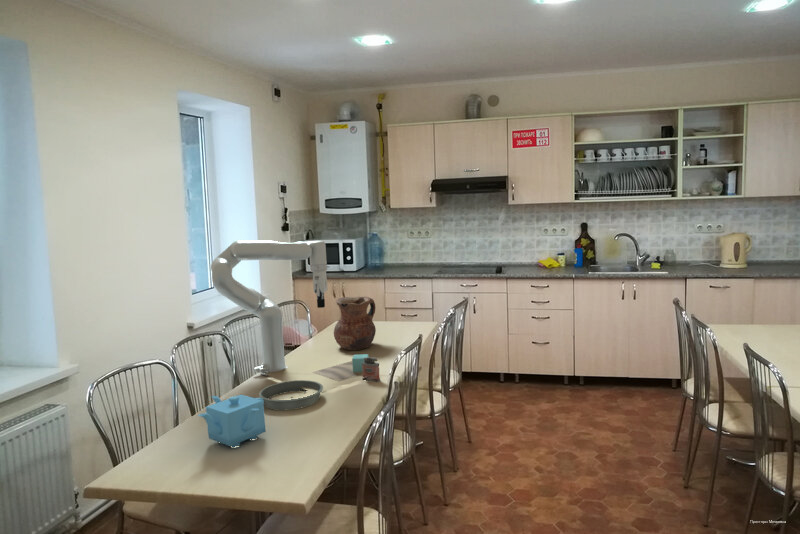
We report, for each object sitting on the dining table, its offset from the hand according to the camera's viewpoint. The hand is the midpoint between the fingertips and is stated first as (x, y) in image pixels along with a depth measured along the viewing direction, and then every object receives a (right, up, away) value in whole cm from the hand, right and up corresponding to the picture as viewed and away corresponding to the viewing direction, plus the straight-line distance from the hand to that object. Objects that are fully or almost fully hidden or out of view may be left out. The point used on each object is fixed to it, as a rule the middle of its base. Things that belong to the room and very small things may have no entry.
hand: (321, 307), depth 282 cm
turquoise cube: (+19, -27, -14) cm, 36 cm away
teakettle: (-18, -39, -81) cm, 91 cm away
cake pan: (-6, -34, -44) cm, 55 cm away
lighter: (+24, -29, -24) cm, 45 cm away
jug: (+14, -23, +32) cm, 41 cm away
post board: (+13, -28, -14) cm, 34 cm away
